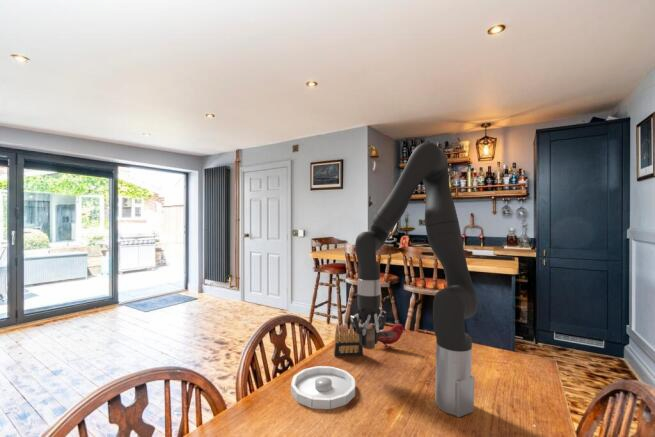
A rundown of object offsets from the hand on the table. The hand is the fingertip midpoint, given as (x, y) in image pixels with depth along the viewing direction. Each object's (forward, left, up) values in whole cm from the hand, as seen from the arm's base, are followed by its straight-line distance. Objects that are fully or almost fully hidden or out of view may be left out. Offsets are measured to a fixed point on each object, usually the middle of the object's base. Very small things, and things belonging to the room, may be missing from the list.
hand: (368, 344), depth 105 cm
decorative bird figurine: (+16, -18, -11) cm, 27 cm away
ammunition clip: (+16, -2, -11) cm, 20 cm away
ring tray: (-1, +17, -11) cm, 20 cm away
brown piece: (0, 0, -1) cm, 1 cm away
